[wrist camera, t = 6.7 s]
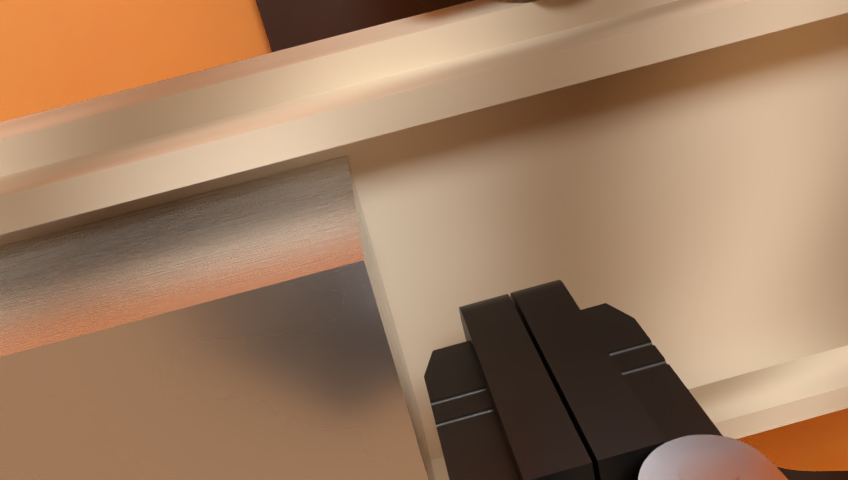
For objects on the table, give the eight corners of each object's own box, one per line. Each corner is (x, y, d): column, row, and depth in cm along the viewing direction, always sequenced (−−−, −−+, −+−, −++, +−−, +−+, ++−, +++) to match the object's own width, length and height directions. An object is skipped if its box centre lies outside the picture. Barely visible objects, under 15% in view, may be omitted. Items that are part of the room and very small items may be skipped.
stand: (621, -293, 18) (979, -473, 9) (674, 303, 25) (899, 554, 16) (201, -189, 18) (97, -260, 8) (379, 386, 25) (431, 693, 16)
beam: (1323, -296, 12) (1607, -343, 10) (1177, 281, 17) (1340, 358, 14) (-316, 121, 12) (-503, 197, 9) (15, 604, 16) (-41, 748, 14)
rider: (346, 155, 12) (364, 260, 8) (420, 413, 14) (455, 572, 11) (-118, 276, 11) (-276, 430, 8) (33, 519, 14) (-47, 712, 10)
